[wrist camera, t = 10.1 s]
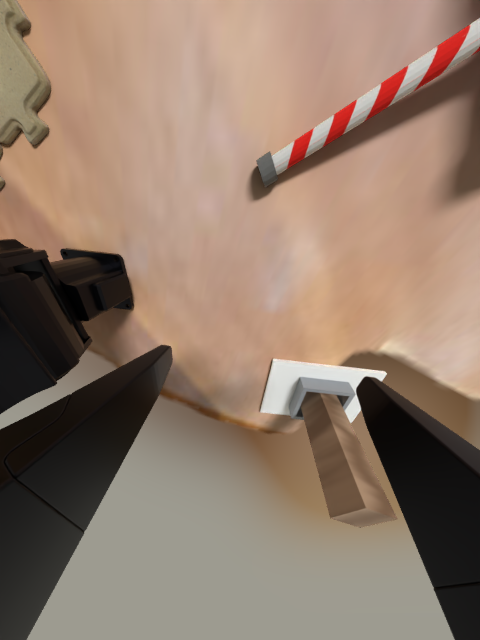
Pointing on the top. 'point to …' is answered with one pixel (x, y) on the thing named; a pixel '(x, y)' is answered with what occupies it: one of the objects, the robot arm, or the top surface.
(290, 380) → the plate
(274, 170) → the toy hammer
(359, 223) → the top surface
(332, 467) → the brown wooden block
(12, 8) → the gear puzzle
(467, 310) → the top surface
